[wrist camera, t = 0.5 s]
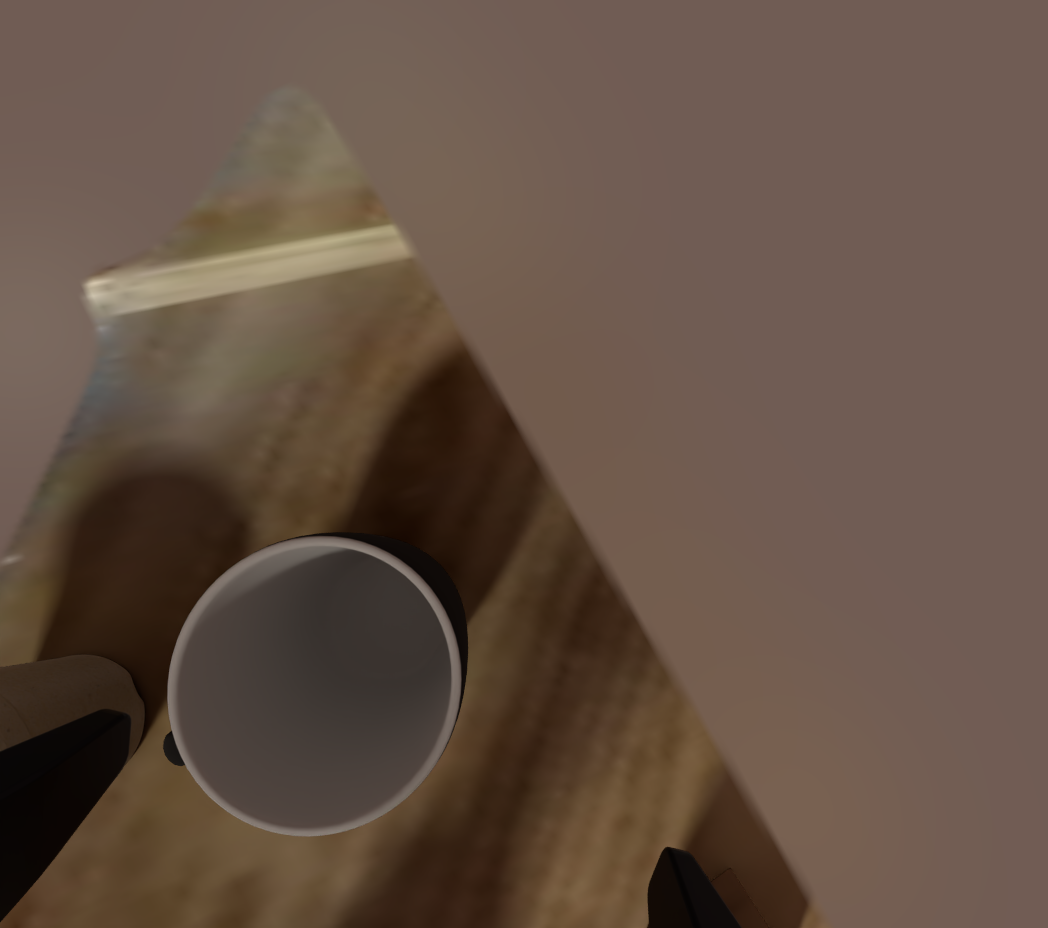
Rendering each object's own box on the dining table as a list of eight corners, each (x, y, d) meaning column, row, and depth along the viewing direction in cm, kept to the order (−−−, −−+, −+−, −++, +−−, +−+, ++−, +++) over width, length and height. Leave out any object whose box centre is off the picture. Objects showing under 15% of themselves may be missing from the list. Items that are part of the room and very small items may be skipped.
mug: (428, 495, 26) (381, 483, 16) (510, 651, 25) (514, 742, 15) (213, 609, 25) (17, 673, 15) (293, 774, 24) (145, 957, 14)
